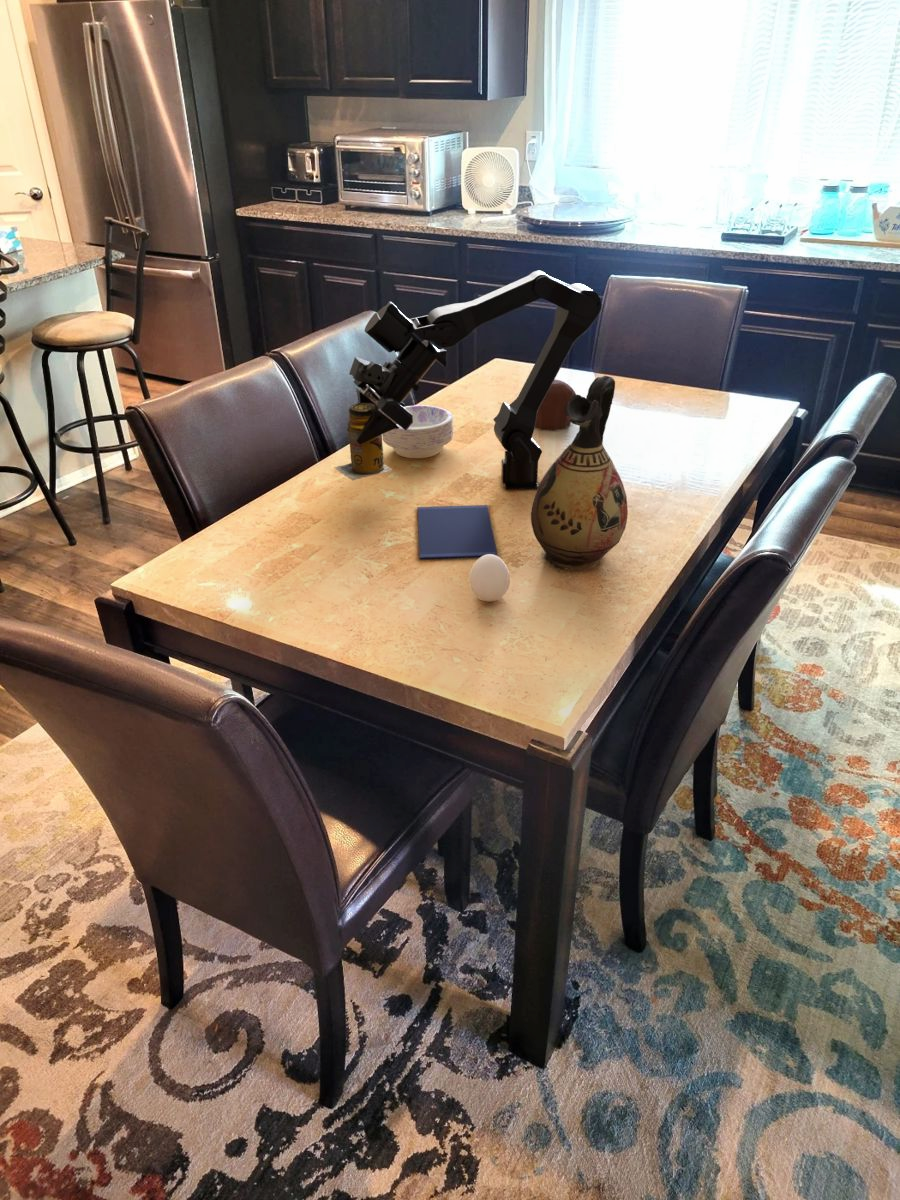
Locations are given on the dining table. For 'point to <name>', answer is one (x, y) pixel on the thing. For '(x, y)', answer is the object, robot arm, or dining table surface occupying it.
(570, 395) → the muffin
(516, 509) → the dining table surface
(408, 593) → the dining table surface
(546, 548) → the ceramic jug
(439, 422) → the paper bowls
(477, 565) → the egg
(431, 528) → the cloth
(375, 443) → the condiment
